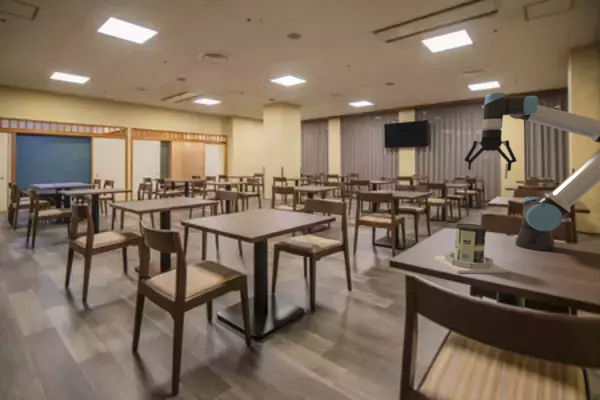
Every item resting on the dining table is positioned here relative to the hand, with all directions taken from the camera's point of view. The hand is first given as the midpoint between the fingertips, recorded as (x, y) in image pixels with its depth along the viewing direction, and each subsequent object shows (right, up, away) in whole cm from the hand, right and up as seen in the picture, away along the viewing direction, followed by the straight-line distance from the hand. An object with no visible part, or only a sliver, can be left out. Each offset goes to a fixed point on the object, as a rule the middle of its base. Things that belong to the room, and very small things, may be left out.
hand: (488, 177), depth 154 cm
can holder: (-21, -35, -23) cm, 47 cm away
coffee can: (-20, -34, -23) cm, 46 cm away
